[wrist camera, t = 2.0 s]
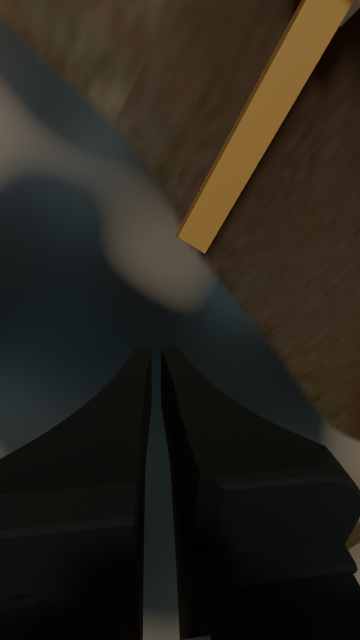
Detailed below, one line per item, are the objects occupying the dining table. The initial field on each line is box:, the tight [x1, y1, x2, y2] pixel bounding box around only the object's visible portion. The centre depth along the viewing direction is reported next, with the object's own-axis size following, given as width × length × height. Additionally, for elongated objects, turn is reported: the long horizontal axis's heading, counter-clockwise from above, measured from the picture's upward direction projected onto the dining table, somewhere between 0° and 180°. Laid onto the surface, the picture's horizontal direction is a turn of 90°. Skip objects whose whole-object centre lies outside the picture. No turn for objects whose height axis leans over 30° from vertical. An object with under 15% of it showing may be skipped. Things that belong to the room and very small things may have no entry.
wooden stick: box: [175, 0, 360, 254], centre depth 13 cm, size 17×3×3 cm, turn 150°
